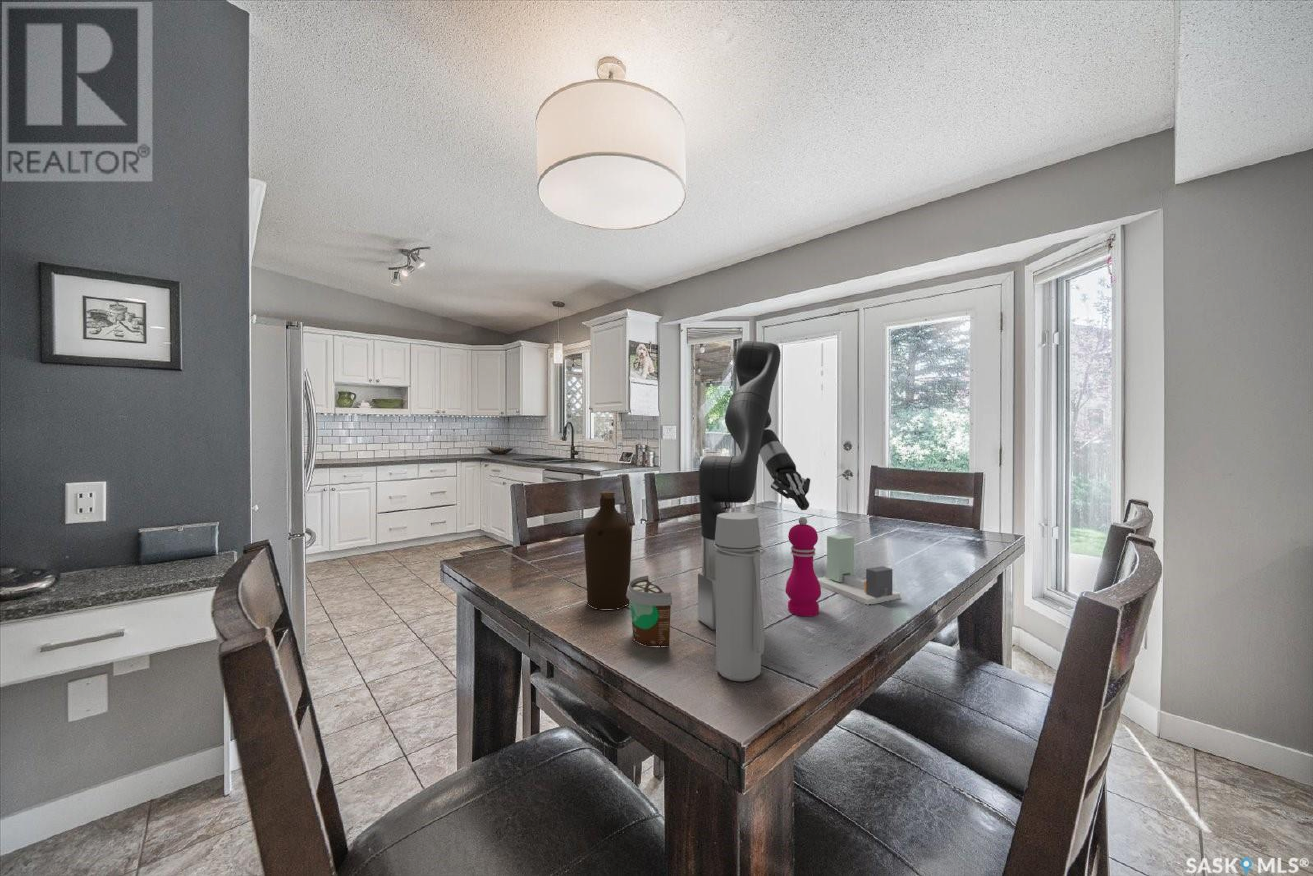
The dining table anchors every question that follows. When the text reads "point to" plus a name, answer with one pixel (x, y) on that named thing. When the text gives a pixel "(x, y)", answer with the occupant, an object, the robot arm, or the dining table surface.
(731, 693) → the dining table surface
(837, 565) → the sleeve
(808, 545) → the pepper mill
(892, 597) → the rail base
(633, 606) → the food container
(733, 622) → the water bottle
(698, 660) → the dining table surface
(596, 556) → the olive oil
